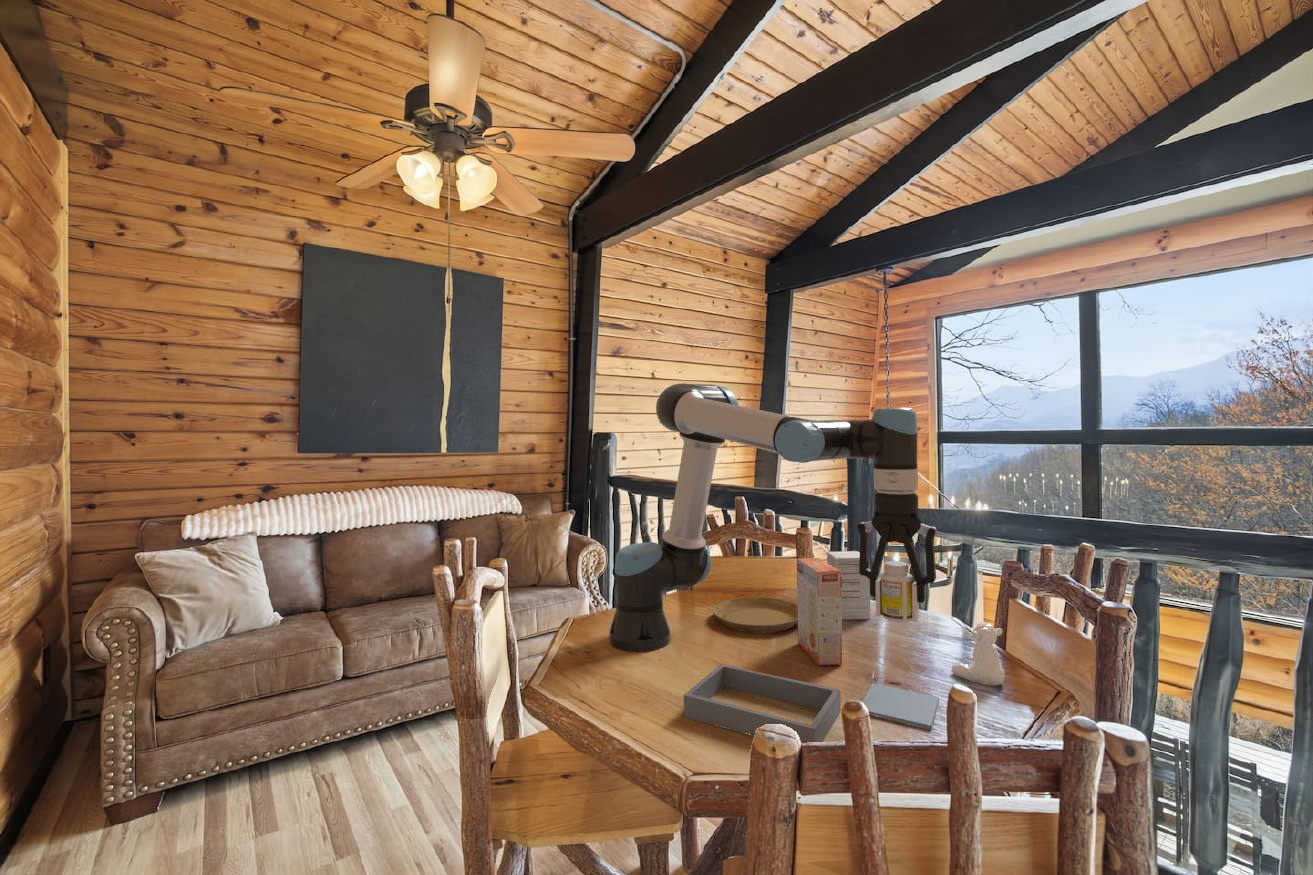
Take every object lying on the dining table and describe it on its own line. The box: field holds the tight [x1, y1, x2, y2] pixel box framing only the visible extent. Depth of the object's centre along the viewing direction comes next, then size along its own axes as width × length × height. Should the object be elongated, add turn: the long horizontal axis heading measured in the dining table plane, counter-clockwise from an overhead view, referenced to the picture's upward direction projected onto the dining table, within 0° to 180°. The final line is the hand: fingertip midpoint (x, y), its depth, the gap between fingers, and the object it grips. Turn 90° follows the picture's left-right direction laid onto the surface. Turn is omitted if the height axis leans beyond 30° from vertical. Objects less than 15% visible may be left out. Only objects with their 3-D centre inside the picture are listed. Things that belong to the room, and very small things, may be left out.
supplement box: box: [826, 550, 871, 620], centre depth 160 cm, size 10×9×17 cm
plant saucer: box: [712, 596, 798, 634], centre depth 156 cm, size 24×24×3 cm
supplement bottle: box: [880, 560, 914, 623], centre depth 106 cm, size 6×6×10 cm
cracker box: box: [796, 557, 843, 666], centre depth 132 cm, size 14×6×21 cm, turn 4°
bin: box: [683, 663, 842, 743], centre depth 105 cm, size 24×16×4 cm, turn 58°
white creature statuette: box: [951, 622, 1006, 687], centre depth 118 cm, size 10×9×12 cm
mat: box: [862, 683, 940, 731], centre depth 107 cm, size 12×12×1 cm
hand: (897, 616), depth 106 cm, fingers closed on supplement bottle, 6 cm apart
